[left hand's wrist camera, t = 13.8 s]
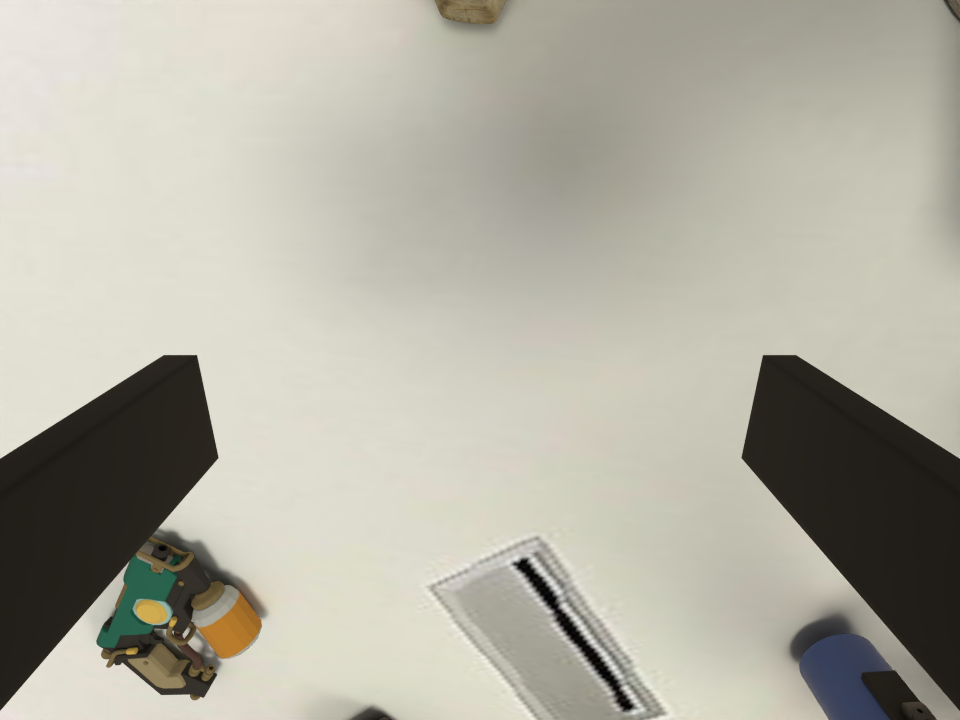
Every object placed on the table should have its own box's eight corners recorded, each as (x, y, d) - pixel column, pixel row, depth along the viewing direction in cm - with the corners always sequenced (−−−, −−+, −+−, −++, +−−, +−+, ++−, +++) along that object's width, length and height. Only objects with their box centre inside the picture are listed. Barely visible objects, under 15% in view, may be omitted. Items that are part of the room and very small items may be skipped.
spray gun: (198, 686, 55) (74, 602, 51) (297, 612, 50) (166, 513, 46) (173, 728, 51) (37, 641, 47) (278, 652, 46) (133, 547, 42)
